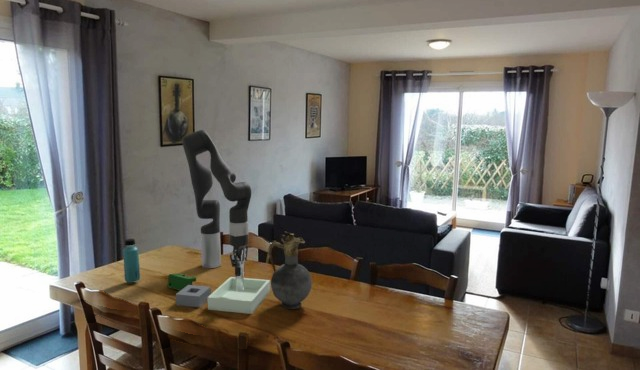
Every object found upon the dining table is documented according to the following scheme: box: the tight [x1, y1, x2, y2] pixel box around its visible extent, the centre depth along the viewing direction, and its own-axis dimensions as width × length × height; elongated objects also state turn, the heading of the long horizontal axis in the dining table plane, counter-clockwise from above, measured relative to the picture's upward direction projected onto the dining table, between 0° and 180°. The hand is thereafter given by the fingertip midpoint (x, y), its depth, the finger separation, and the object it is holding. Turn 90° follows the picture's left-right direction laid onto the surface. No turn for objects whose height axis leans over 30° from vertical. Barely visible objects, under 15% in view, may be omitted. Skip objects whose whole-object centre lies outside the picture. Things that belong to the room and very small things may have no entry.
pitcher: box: [267, 231, 313, 310], centre depth 169 cm, size 11×19×30 cm, turn 57°
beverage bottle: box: [122, 238, 141, 283], centre depth 191 cm, size 6×7×20 cm
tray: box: [207, 276, 271, 315], centre depth 175 cm, size 22×18×5 cm
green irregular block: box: [167, 273, 197, 291], centre depth 187 cm, size 12×6×9 cm, turn 56°
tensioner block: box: [175, 284, 212, 308], centre depth 174 cm, size 10×10×4 cm
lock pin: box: [235, 260, 245, 291], centre depth 174 cm, size 3×3×12 cm
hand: (239, 273), depth 173 cm, fingers closed on lock pin, 3 cm apart
